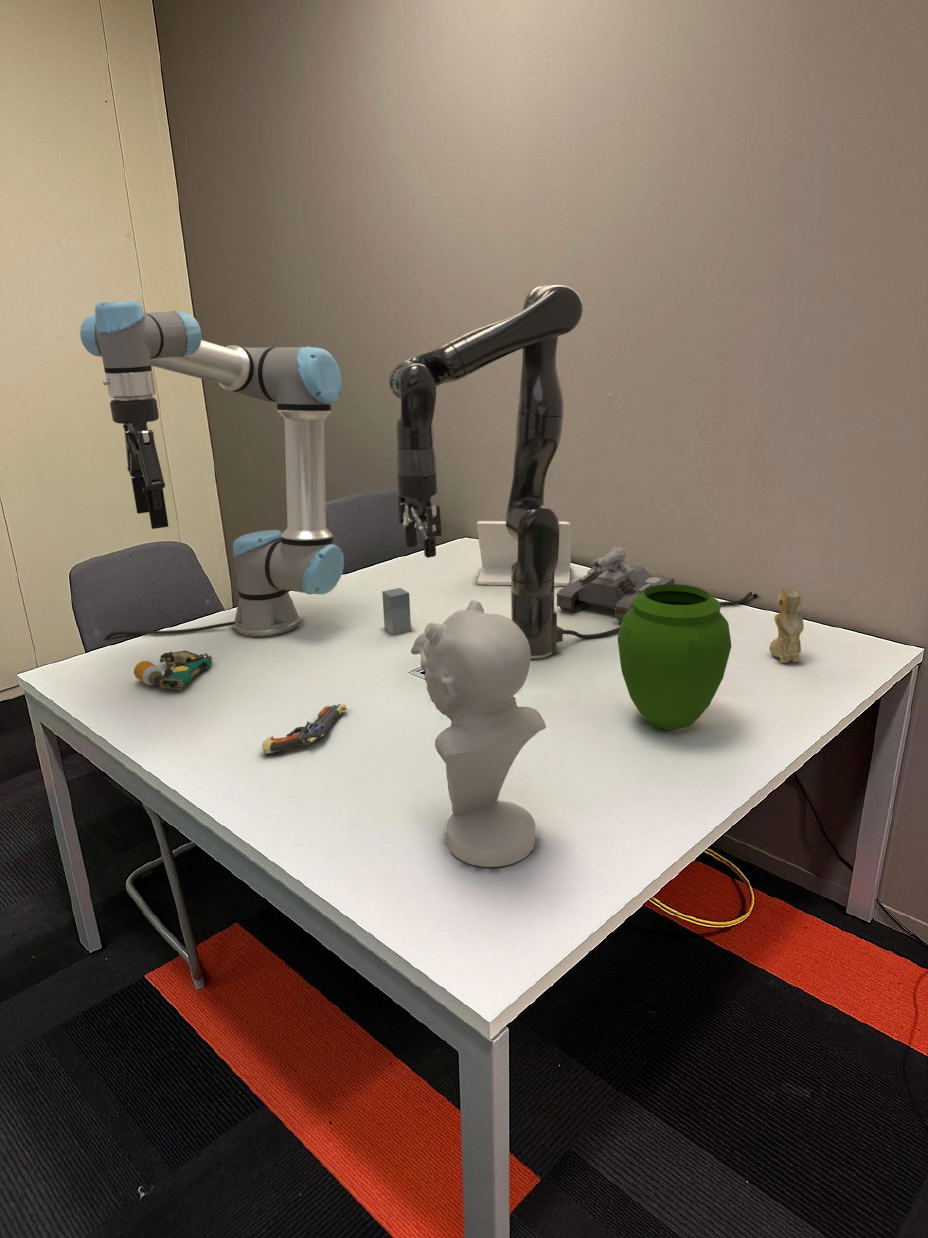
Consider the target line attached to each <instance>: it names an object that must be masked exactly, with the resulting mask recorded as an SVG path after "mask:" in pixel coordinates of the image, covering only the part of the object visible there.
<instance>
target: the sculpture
mask: <svg viewBox="0 0 928 1238" xmlns="http://www.w3.org/2000/svg"><path fill="white" fill-rule="evenodd" d="M777 592H778V595H777V606H778V609H779V611H780V612H779V613H777V614H775V615H774V617H773V618H774V623H775V625H776V627H777V633H778V636H777V637H776V638H775V639H773V640H772V641H771V642H770V643H769V648H768V649H769V652H770V654H771V655H772V656H773V657H776V658H777V657H778V658H779V659H780V660H779V661H780V663H784V664H785V663H789V662H792V663H795V662H799V659H800V653H801V651H802V646H801V645H802V643H801V639H800V638H801V637H800V636H801V634H802V633H803V631H804V629H805V627H804V618H803V615H802V614H801V613H800V612H798V609H799V607H800V606H801V604H802V600H801V597H802V596H803V594H802V593H801V592H800V591H799V590H797V589H795V588H793V587H789V588H787V589H786V588H785V589H784V588H778V589H777Z"/></svg>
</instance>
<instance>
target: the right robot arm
mask: <svg viewBox="0 0 928 1238" xmlns="http://www.w3.org/2000/svg"><path fill="white" fill-rule="evenodd" d="M583 308H584V307H583V302H582V299H581V297H580V295H579V294H578V292H577V291H575V290H574V289H573V288H571V287H569V286H566V285H561V284H553V285H540V286H537V287H535V288H533V289H532V290H531V291H529V293H528V294H527V295H526V297H525V299H524V302H523V305H522V311H519V312H518V313H515V314H514V315H512V316H510V317H506V318H505V319H502V320H499V321H497V322H493V323H491V324H488V325H485V326H481V327H479V328H476V329H473V330H471V331H468V332H466V333H464V334H462V335H460V336H457V337H456V338H453V339H452V340H450V341H448V342H446V343H444V344H442V345H440V346H439V347H437V348H435V349H433V350H429V351H426V352H423V353H420V354H418V355H415V356H413V357H410V358H408V359H406V360H404V361H402V362H400V363H398V364H397V365H396V366H394V367H393V368H392V370H391V372H390V374H389V378H388V386H389V389H390V391H391V393H392V394H393V395H394V396H395V397H396V398H398V399H400V416H399V417H398V418H397V420H396V425H395V432H396V433H395V436H396V475H397V490H398V491H397V492H398V496H397V502H398V503H397V506H398V523H399V525H402V529H404V537H405V546H406V547H407V548H415V547H417V546H418V536H417V535H418V534H417V528H418V529H419V530H421V533H422V536H423V552H424V557H426V558H433V557H436V555H437V545H436V544H437V543H436V538H438V537H439V538H440V537H442V536H443V535H442V533H443V532H442V519H441V508H440V505H432V501H431V499H432V497H433V496H435V495H437V493H438V482H437V480H438V479H437V478H438V477H437V459H436V457H437V456H436V452H435V444H434V442H435V441H434V426H433V425H434V424H433V421H434V417H435V410H436V403H437V387H438V386H441V385H443V384H449V383H455V382H458V381H460V380H462V379H464V378H466V377H468V376H470V375H472V374H474V373H476V372H478V371H480V370H481V369H483V368H485V367H486V366H489V365H491V364H493V363H495V362H497V361H499V360H501V359H503V358H505V357H507V356H509V355H511V354H513V353H515V352H517V351H520V350H522V361H521V373H520V384H519V398H518V405H517V415H516V428H515V444H514V454H513V455H514V456H513V457H514V458H513V472H512V473H513V474H512V481H511V487H510V492H509V498H508V504H507V508H506V514H505V521H506V528H507V531H508V533H509V534H510V536H511V537H512V538H513V539H514V540H516V541H517V542H518V557H517V561H516V562H514V563H513V564H512V566H511V585H510V588H511V589H510V597H511V599H510V603H511V604H510V606H511V607H510V609H511V610H510V615H511V617H510V619H511V620H512V621H513V622H514V623H515V624H516V625H517V626H518V627H519V628H520V629H521V630H522V632H523V633H524V634H525V636H526V638H527V640H528V643H529V646H530V652H531V653H530V655H531V656H530V660H540V659H545V658H548V657H550V656H552V655H557V654H558V653H557V650H558V649H557V648H558V647H557V645H558V644H559V643H562V642H564V635H571V636H575V637H576V638H579V639H584V640H590V639H596V638H597V639H598V638H599V639H600V638H602V637H603V638H604V637H607V636H610V635H614V634H617V633H619V631H620V627H621V625H620V626H619V627H616V628H613V629H611V630H607V631H603V632H598V633H592V634H585V633H584V634H583V633H579V632H578V631H575V630H572V629H571V630H570V629H564V628H562V627H560V626H558V613H557V612H556V611H555V586H554V572H555V568H556V566H557V563H558V554H559V522H560V521H559V518H558V516H557V513H555V511H553V509H551V508H550V507H548V506H546V505H545V484H546V478H547V474H548V471H549V468H550V466H551V464H552V462H553V460H554V457H555V455H556V453H557V451H558V449H559V446H560V443H561V439H562V432H563V422H564V408H565V407H564V404H565V403H564V397H563V391H562V387H561V383H560V379H559V375H558V368H557V349H558V343H559V337H561V336H565V335H567V334H569V333H570V332H572V331H573V330H575V328H576V327H577V326H578V325H579V323H580V322H581V319H582V316H583V311H584V309H583ZM416 527H417V528H416ZM752 596H753V598H758V597H759V595H758V594H757V593H756V594H754V595H752V592H751V591H749V592H748V593H747V594H746V595H745V596H743V597H742V598H741V599H737V600H730V601H719V603H720V607H721V606H734V605H740V604H743V603H744V602H746V601H748V600H749V598H750V597H752Z"/></svg>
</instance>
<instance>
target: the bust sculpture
mask: <svg viewBox="0 0 928 1238" xmlns="http://www.w3.org/2000/svg"><path fill="white" fill-rule="evenodd" d="M530 653H531V652H530V646H529V643H528V640H527V638H526V636H525V634H524V633H523V632H522V630H521V629H520V628H519V627H518V626H517V625H516V624H515V623H514V622H513V621H512V620H511V618H508V617H507V616H504V615H503V614H502V615H501V614H496V613H485V609H484V607H483V605H482V603H481V602H480V601H478V600H473V599H472V600H470V601H469V603H468V605H467V607H466V609H460V610H457V611H455V612H453V613H451V615H449V616H448V617H447V618H446V619H445V620H444V622H442V624H441V623H435V622H430V623H428V624H427V625H426V626H425V628H424V632H423V633H421V634H419V635H418V636H417V637H416V638H415V640H414V642H413V645H412V647H411V649H410V654H412V655H420V667H421V669H422V670H423V672H424V681H425V682H426V690H427V693H428V696H429V698H430V701H431V702H432V704H434V706H435V708H436V710H438V711H439V712H440V713H441V714H442V716H446V717H447V718H448V719H449V720H450V726H448V727H446V728H445V729H443V730H442V731H441V732H440V733H439V734H438V735H436V738H435V741H434V748H435V749H436V752H437V753H438V755H439V757H440V758H441V760H442V761H443V762H444V763H445V771H446V781H447V790H448V796H449V800H450V803H451V810H452V813H451V814H450V815H449V817H448V819H447V822H446V844H447V847H448V849H449V851H450V852H451V854H452V855H453V856H454V857H456V858H457V859H459V860H460V861H462V862H463V863H466V864H469V865H471V866H476V867H483V868H498V867H505V866H509V865H512V864H517V862H520V861H521V860H523V859H525V858H527V856H528V855H530V854H531V852H532V851H533V849H535V848H534V847H535V845H536V822H535V821H536V820H535V819H534V817H533V816H532V814H531V813H530V812H529V811H528V810H526V809H525V808H524V807H522V806H520V805H517V804H515V803H513V802H509V801H504V800H499V796H500V793H501V790H502V788H503V785H504V783H505V780H506V778H507V776H508V773H509V771H510V769H511V768H512V765H513V763H514V761H515V760H516V759H517V756H518V755H519V753H520V752H521V750H522V749H523V748H524V747H525V745H526V744H527V743H528V742H529V741H530V740H531V739H532V738H533V737H535V735H537V734H538V733H539V732H541V731H544V730H545V729H546V728H547V725H546V723H545V720H544V718H543V717H542V714H541V713H540V712H539V711H538V710H537V709H535V708H533V707H530V706H518V705H517V701H516V699H517V698H516V696H515V695H516V694H517V693H519V691H521V689H522V688H523V686H524V684H525V683H526V680H527V678H528V675H529V669H530V666H531V659H530V656H531V655H530Z"/></svg>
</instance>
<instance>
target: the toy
mask: <svg viewBox="0 0 928 1238" xmlns="http://www.w3.org/2000/svg"><path fill="white" fill-rule="evenodd" d="M626 557H627V556H626V551H625V549H624V548H622V547H621V546H614V547H612V548H611V549H610V550H609V552H608V553H607V554H605V555H604V556H601V557H599V558H598V559H597V557H596V558H594V559H593V560H592V561H590V562H589V563H590V564H591V565H592V567H591V568H590V569H589V570H587V573H586V575H584V576H582V577H580V578H578V579H577V580H575V581H573V582H570V583H569V585H567V586H563V587H562V588H560V589H559V590H558V591H557V592H556V607H558V608H559V609H560V610H562V611H566V612H572V613H575V612H577V611H579V610H581V609H582V608H585V607H586V606H588V605H592V606H598V607H602V608H603V607H604V608H609V609H613V610H614V618H615V619H617V620H618V621H621V622H622V620H623V616H624V615H625V614H626V613H627V612H628V611H629V610H630V609H631V608H632V607H633V599H634V597H635V596H637V595H639V594H640V593H642V592H644V591H645V590H646V589H648V588H650V587H653V586H658V585H667V584H675V580H676V579H675V578H673V577H668V576H663V575H656V576H655V577H654V576H651V574H650V573H649V572H648V571H647V570H646V568H644V567H641V566H635V565H629V564H628V563H627V562H626V561H625V559H626Z"/></svg>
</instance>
